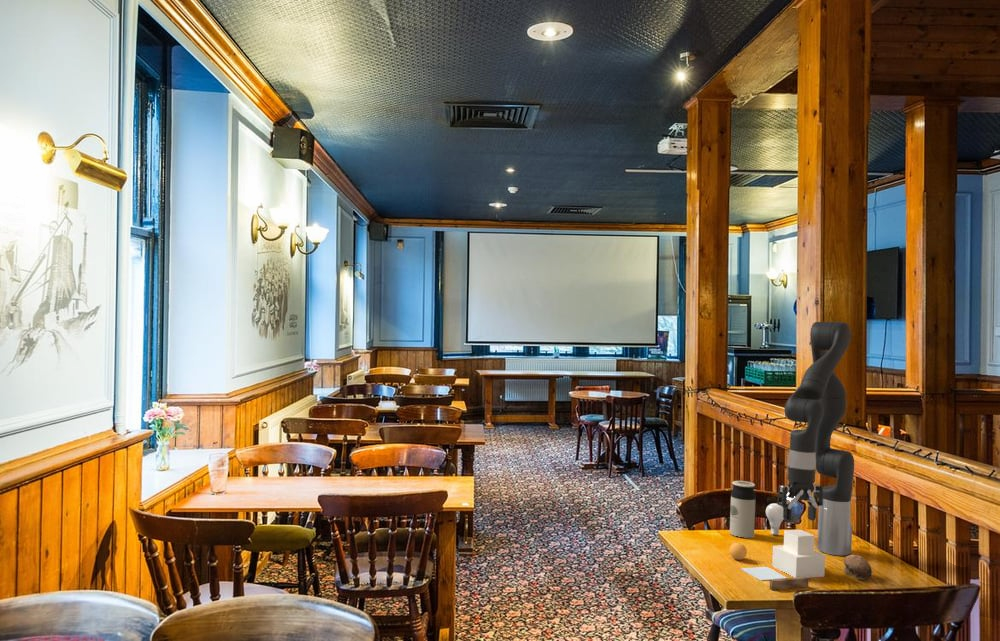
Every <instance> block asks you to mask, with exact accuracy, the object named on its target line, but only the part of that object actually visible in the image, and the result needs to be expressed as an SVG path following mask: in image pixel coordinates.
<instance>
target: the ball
mask: <svg viewBox="0 0 1000 641" xmlns="http://www.w3.org/2000/svg"><path fill="white" fill-rule="evenodd" d="M729 553H730V555H731V557H732V559H734V560H738V561H741V560H743V559H745V558H746V557H747V554H748V552H747V548H746V546H745V545H744V544H742V543H741V542H735V543H732V545H730V546H729Z"/></svg>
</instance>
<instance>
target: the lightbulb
mask: <svg viewBox="0 0 1000 641" xmlns="http://www.w3.org/2000/svg"><path fill="white" fill-rule="evenodd" d="M765 515H766V517H767V520H768V521H769V526H770V534H771V535H773V536H777V535H779V534H780V527H781V524H782V522H783V520H784V518H783V507H782V506H780V505H778V504H777V502H776V503H770V504H768V505H767V506H766V509H765Z"/></svg>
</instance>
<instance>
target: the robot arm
mask: <svg viewBox="0 0 1000 641" xmlns="http://www.w3.org/2000/svg"><path fill="white" fill-rule="evenodd" d="M851 332H852V331H851V328H850V326H849V324H848V323H846V322H844V321H815V322H813V324H812V325H811V327H810V333H809V334H810V335H809V337H810V346H811V347H810V350H811V355H812V364H810V366H809V367H808V368H806V370H805V372H804V374H803V377H802V379H801V381H800V384H799V386H798V387H797V388H796V390H794V392H793V393H792V394H791V395H790V397H788V399H787V401H786V403H785V405H784V415H785V417H786V418H787V419H788V420H789V421H792V422H798V423H807V425H806V427H805V428H803V429H795V430H794V429H793V430H792V431H791V432H790V435H789V449H788V450H789V452H788V457H787V477H786V478H787V481H788V484H787V485H782V484H779V485H778V491H777V501H776V503H777V504H778V505H780V506H782V507H783V518H784V519H783V520H784V521H786V522H789V523H790V522H791V521H792V508H793V506H794V504H796V503H797V502H798V501H799V502H801V501H805V502H806V503H807V505H808V507H807V519H808V520H809V521H812V522H813V521H815V520H816V518H818V519H817V544H816V546H817V547H816V548H817V549H816V550H818V552H822V553H823V554H824V553H825V554H827V555H832V556H849V554H852V541H853V523H851V505H852V504H851V500H852V492H853V485H854V484H853V483H854V474H855V459H854V456H853V454H852V452H850V451H848V450H843V449H837V448H832V447H831V440H832V435H833V433H834V430H835V428H836V427H838V425H839V423H840V422H841V420H842V419H843V418H844V417H845V415H846V412H847V392H846V388H845V386H844V384H843V383H842V381H841V379H840V378H839V377H838V376H837V375H836V373H835V371H834V370H835V369H836V367H837V366H838V364H839V363H840V362H841V360H842V358H843V356H845V353H846V351H847V350H848V348H849V346H850V343H851V338H852V333H851ZM816 472H817V473H818V474H819V475H820V476H825V477H829V478H834V479H835V478H836V482H835V484H833V485H826V486H822V485H819V484H816V483H815V482H816ZM817 508H818V516H817Z"/></svg>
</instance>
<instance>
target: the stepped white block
mask: <svg viewBox="0 0 1000 641" xmlns="http://www.w3.org/2000/svg"><path fill="white" fill-rule="evenodd" d="M783 532H784V533H783V544H781V545H773V546H772V560H771V563H772V564H771V566H772V567H774V568H775V569H776V570H778V571H780V572H782V571H783V573H784V572H785V574H786V573H787V574H786V575H788V574H789V575H788V576H790V575H791V576H790V577H792V576H793V577H792V578H797V577H807V578H818V577H819V578H821V577H825V571H826V570H825V566H826V555H825V554H824V553H820V551H816V550H815V535H814V534H812V533H809V532H808V531H807V532H806V531H804V530H802V529H787V530H783Z"/></svg>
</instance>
